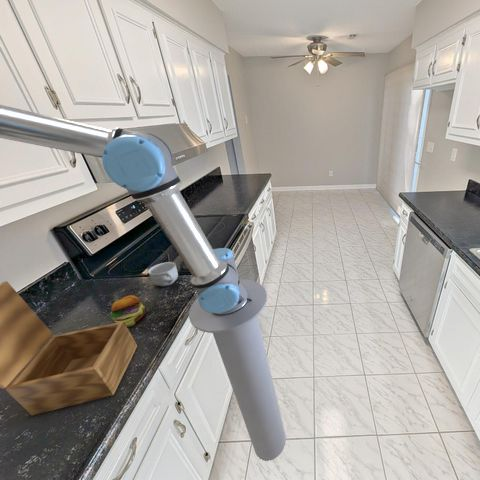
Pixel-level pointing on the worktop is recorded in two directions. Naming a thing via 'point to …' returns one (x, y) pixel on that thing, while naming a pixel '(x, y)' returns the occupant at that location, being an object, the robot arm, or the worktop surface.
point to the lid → (18, 334)
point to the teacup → (163, 273)
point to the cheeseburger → (127, 310)
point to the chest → (74, 368)
